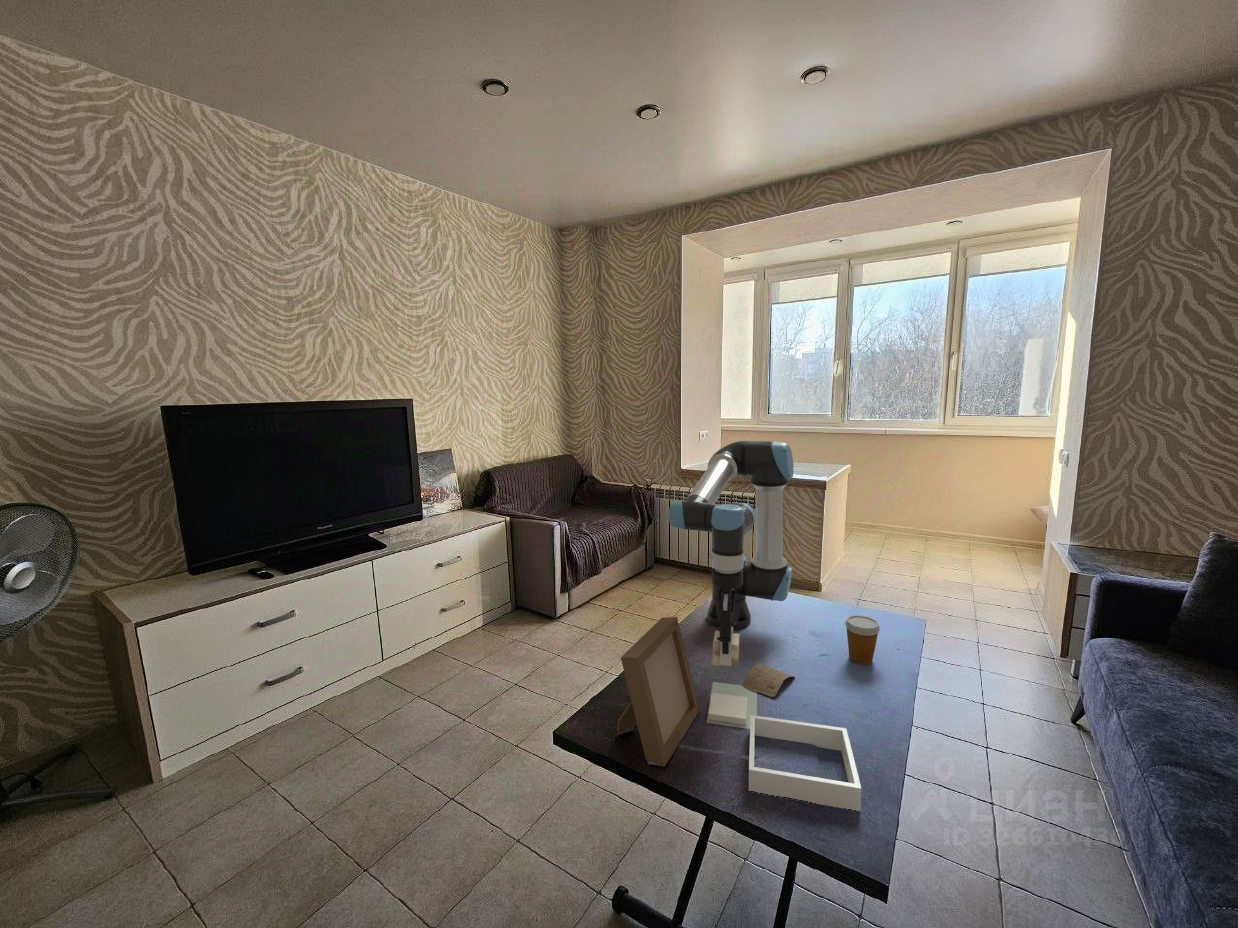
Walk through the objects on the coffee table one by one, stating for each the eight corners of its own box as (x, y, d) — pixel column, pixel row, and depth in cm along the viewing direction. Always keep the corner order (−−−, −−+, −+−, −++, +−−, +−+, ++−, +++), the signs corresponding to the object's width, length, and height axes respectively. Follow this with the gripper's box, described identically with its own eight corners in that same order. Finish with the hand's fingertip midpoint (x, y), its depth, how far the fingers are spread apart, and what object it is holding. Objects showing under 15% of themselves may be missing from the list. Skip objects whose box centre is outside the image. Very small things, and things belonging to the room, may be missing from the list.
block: (738, 655, 129) (739, 633, 128) (737, 668, 123) (738, 645, 122) (714, 652, 131) (715, 630, 130) (712, 664, 125) (713, 641, 124)
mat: (712, 683, 142) (712, 681, 142) (757, 689, 139) (757, 687, 139) (706, 724, 125) (706, 722, 125) (756, 732, 122) (756, 729, 122)
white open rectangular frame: (750, 733, 121) (750, 714, 120) (845, 748, 116) (846, 728, 115) (748, 791, 104) (748, 769, 103) (860, 811, 98) (861, 788, 98)
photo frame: (699, 714, 129) (698, 621, 125) (664, 770, 110) (661, 663, 107) (647, 698, 136) (644, 610, 133) (605, 749, 117) (601, 648, 114)
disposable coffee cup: (870, 671, 146) (872, 632, 144) (837, 658, 153) (839, 621, 152) (883, 659, 152) (885, 621, 151) (852, 647, 159) (853, 611, 158)
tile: (712, 692, 134) (708, 713, 125) (747, 697, 132) (746, 718, 123) (712, 698, 134) (708, 719, 126) (747, 703, 132) (746, 725, 123)
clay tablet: (775, 699, 133) (775, 689, 133) (740, 685, 140) (740, 676, 139) (797, 678, 144) (797, 669, 144) (763, 665, 150) (764, 657, 150)
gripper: (715, 555, 134) (714, 638, 137) (707, 581, 116) (707, 675, 119) (744, 557, 132) (743, 641, 135) (741, 583, 114) (740, 680, 117)
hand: (726, 657), depth 127 cm, fingers closed on block, 6 cm apart
